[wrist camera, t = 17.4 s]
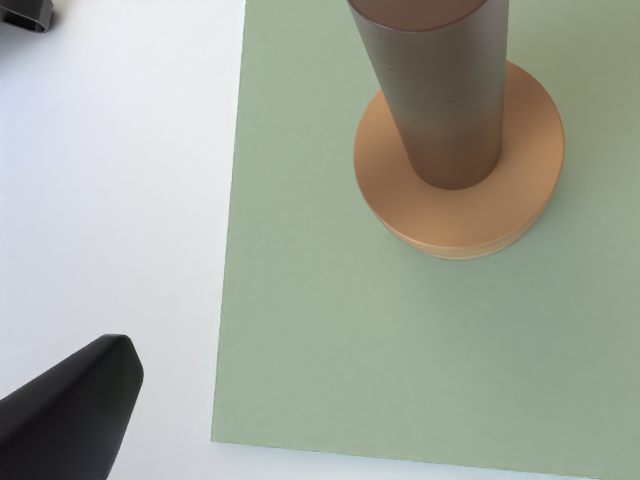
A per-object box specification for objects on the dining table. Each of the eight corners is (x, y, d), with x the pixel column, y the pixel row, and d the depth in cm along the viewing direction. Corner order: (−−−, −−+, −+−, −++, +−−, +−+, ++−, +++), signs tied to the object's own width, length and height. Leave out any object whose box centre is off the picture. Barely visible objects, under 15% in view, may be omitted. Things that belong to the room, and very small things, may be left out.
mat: (687, 486, 19) (691, 488, 18) (214, 440, 23) (209, 441, 23) (652, -132, 23) (655, -141, 22) (255, -73, 27) (252, -79, 27)
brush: (593, 194, 21) (743, -49, 8) (439, 302, 21) (373, 223, 9) (478, 64, 23) (464, -286, 10) (340, 166, 23) (176, -49, 11)
